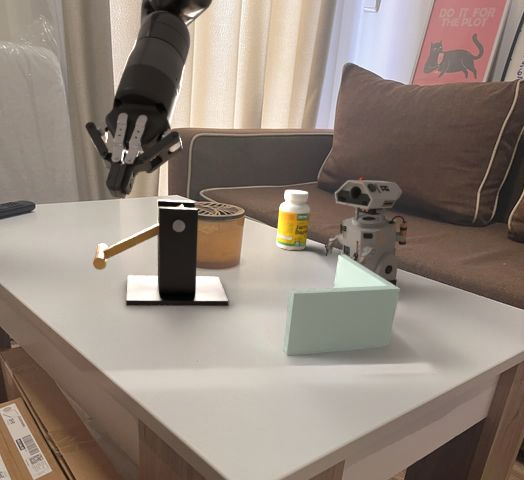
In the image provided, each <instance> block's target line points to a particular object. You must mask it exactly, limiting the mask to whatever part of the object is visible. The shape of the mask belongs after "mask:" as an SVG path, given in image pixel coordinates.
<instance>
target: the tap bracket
mask: <svg viewBox="0 0 524 480" xmlns="http://www.w3.org/2000/svg"><path fill="white" fill-rule="evenodd" d="M181 204H183V206H184V208H181V207H177V206H179V205H181ZM158 223H159V235H157V275H136V274H135V275H132V274H131V275H129V274H128V275H127V277H126V278H127V279H126V297H125V305H126V306H128V307H129V306H140V307H141V306H142V307H143V306H146V307H147V306H149V307H151V306H157V307H158V306H164V307H165V306H168V307H169V306H171V307H176V306H177V307H179V306H182V307H186V306H187V307H188V306H189V307H192V306H193V307H194V306H195V307H199V306H200V307H205V306H206V307H221V306H222V307H228V306H229V303H230V301H229V298H228V296H227V294H226V291H225V289H224V286H223V284H222V282H221V279H220V277H219V276H202V275H201V276H200V275H199V276H198V275H197V262H198V261H197V259H198V258H197V257H198V233H199V232H198V229H199V209H198V208H197V207H196V202H195V201H194V200H179V199H157V224H158Z"/></svg>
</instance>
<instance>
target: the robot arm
mask: <svg viewBox="0 0 524 480" xmlns="http://www.w3.org/2000/svg"><path fill="white" fill-rule="evenodd" d="M212 2H213V0H141V5H140V27H139V30H138V33H137V36H136V39H135V42H134V45H133V47H132V50H131V51H130V53H129V55H128V57H127V59H126V62H125V65H124V68H123V70H122V73H121V77H120V79H119V83H118V85H117V89H116V92H115V94H114V98H113V105H112V109H111V110H110V111H109V112H108V113H107V114H106V116H105V119H104V121H102V122H100V123H98V124H95V122H93V121H88V122H86V123H85V125H84V127H85V130H86V131H87V133H88V135H89V137H90V140H91V141H92V143H93V145H94V147H95V148H96V151H97V154H99V156H100V158H101V161H102V162H103V165H104V166H105V168H106V169H109V171H108V174H107V176H106V177H107V178H106V180H105V185H106V188H107V190H108V191H109V193H110V195H111V197H112V198H114V199H124V200H125V199H126V197H127V196H129V195H130V194H131V193H132V190H133V187H134V183H135V180H136V177H137V176H138V175H139V174H140V173H144V172H145V173H146V174H152V173H154V172H155V171H156V170H157V169H158V168H160V167H161V166H163V165H164V164H166V163H167V162H168V161H170V160H171V159H173V158H174V157H175V156H177V155H178V154H179V153H181V152H182V151H183V144H182V140H181V137H180V133H179V132H178V131H176V130H172V128H171V122H172V118H173V114H174V112H175V108H176V104H177V101H178V98H179V95H180V94H181V88H182V84H183V83H182V82H183V75H184V70H185V67H186V63H187V61H188V56H189V52H190V49H191V34H190V30H189V26H190V25H191V24H192V23H193V22H195V21H196V19H198V17H200V16H201V15H203V14H204V12H205V11H207V10H208V9H209V8H210V6H211V4H212ZM109 133H110V135H111V137H112V140H113V150H112V152H111V151H110V150H109V148H108V147H107V145H106V143H108V141H107V140H108V134H109Z"/></svg>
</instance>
